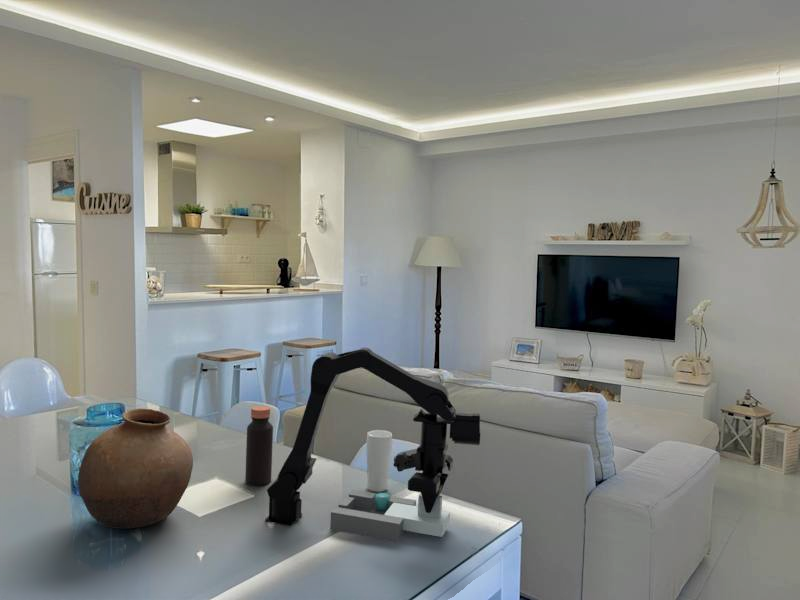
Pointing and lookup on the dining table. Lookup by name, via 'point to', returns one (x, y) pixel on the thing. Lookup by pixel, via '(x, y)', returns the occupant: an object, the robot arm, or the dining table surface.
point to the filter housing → (368, 517)
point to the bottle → (259, 447)
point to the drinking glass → (378, 459)
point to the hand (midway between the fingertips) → (429, 509)
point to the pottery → (135, 471)
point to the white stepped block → (421, 517)
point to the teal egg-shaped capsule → (382, 501)
